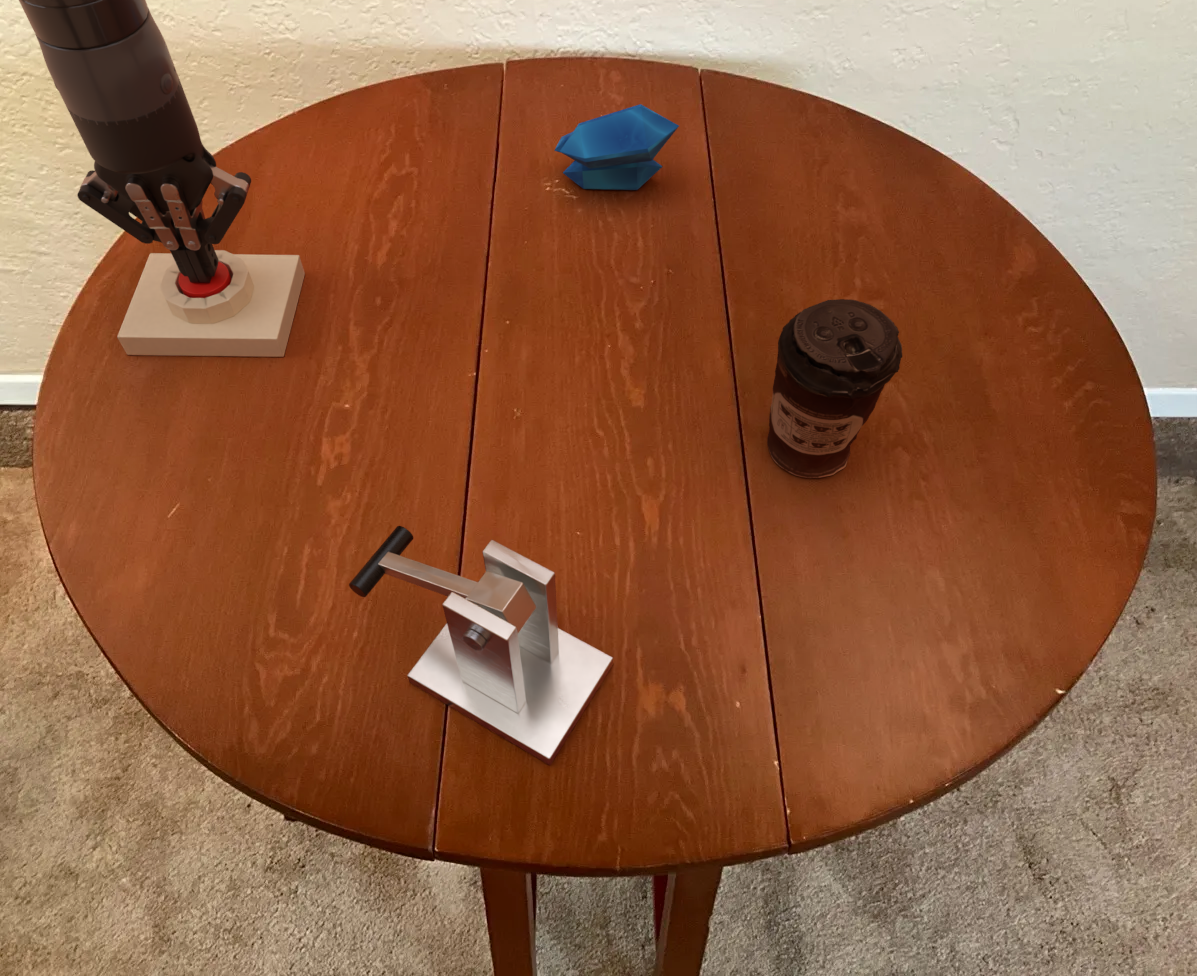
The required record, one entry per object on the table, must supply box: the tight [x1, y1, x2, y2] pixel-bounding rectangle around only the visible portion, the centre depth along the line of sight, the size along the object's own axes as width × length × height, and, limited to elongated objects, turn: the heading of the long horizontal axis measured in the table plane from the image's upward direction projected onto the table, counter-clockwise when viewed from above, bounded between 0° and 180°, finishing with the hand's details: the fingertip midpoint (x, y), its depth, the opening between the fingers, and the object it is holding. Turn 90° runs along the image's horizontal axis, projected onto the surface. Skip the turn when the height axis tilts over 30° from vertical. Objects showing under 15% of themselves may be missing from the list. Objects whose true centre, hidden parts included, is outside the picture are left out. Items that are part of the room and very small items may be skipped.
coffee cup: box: [766, 298, 903, 479], centre depth 70 cm, size 9×8×13 cm
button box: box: [117, 249, 306, 358], centre depth 81 cm, size 13×10×4 cm
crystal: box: [554, 103, 680, 191], centre depth 90 cm, size 7×9×12 cm
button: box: [179, 262, 232, 298], centre depth 80 cm, size 4×4×2 cm
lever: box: [348, 525, 536, 633], centre depth 59 cm, size 12×5×2 cm, turn 60°
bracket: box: [406, 539, 614, 766], centre depth 59 cm, size 11×8×12 cm
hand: (203, 275), depth 79 cm, fingers closed
